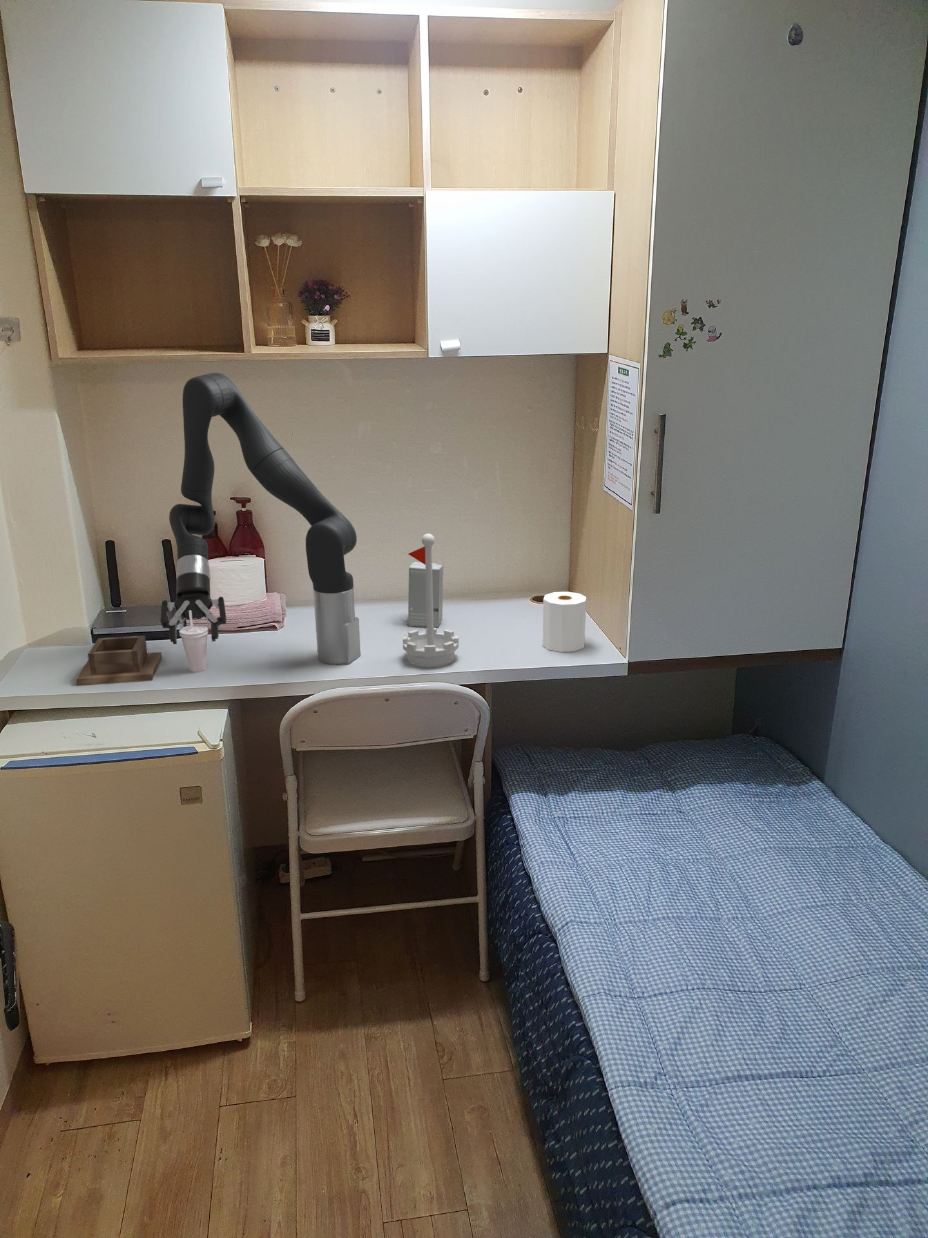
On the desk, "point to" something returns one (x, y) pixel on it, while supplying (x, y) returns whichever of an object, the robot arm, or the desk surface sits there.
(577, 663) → the desk surface
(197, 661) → the smoothie
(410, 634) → the flag stand
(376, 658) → the desk surface
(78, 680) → the socket board
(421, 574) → the skincare box
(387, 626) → the desk surface
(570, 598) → the toilet paper
